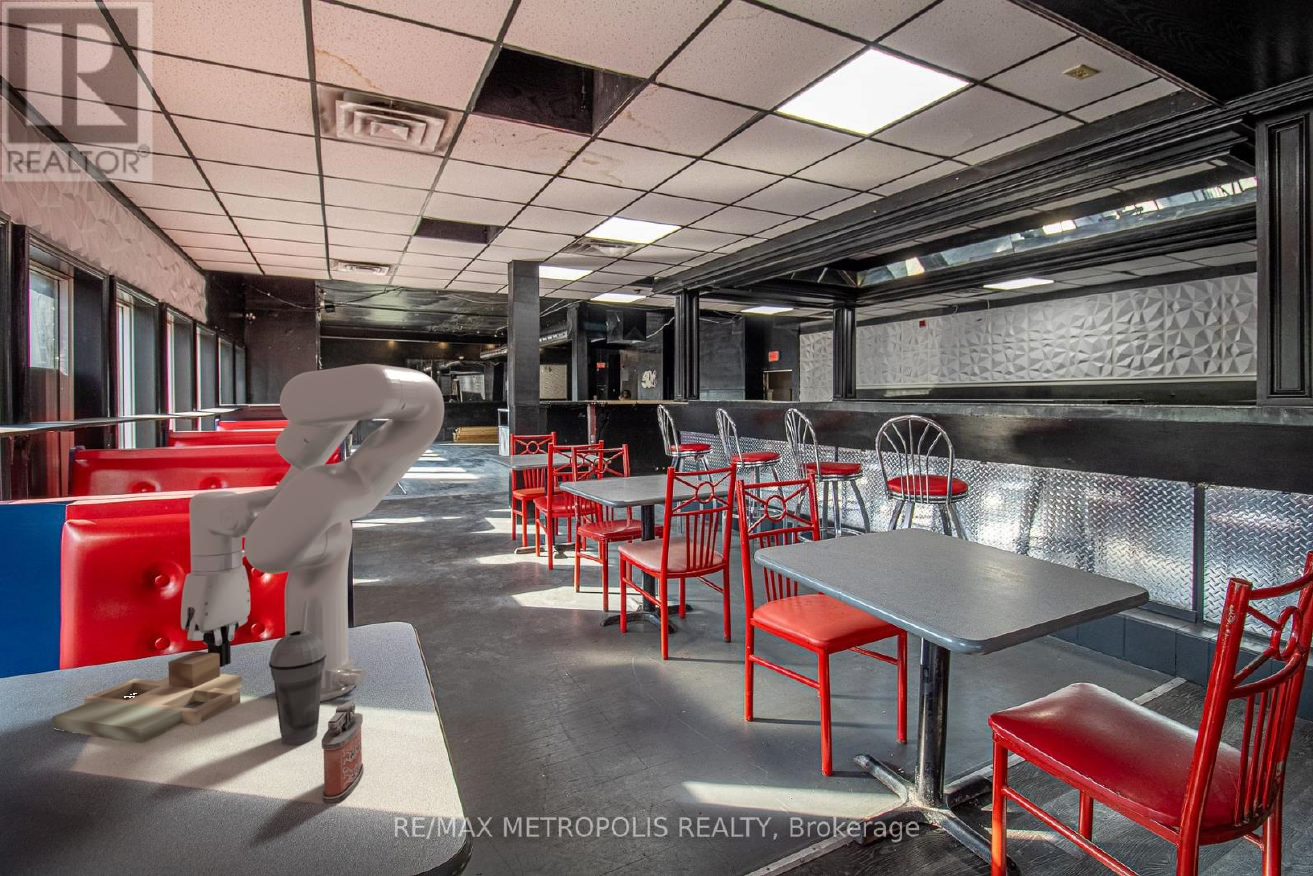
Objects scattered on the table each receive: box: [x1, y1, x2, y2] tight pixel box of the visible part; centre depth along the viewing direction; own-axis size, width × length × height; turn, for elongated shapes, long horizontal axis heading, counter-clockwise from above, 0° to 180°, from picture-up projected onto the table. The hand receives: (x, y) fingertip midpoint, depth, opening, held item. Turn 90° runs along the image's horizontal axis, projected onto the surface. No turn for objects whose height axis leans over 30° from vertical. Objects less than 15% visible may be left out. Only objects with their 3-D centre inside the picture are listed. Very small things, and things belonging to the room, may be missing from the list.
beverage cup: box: [268, 601, 326, 746], centre depth 93 cm, size 7×7×20 cm
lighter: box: [321, 700, 365, 806], centre depth 81 cm, size 8×3×10 cm, turn 5°
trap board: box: [52, 673, 243, 744], centre depth 103 cm, size 22×19×2 cm
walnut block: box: [168, 650, 221, 688], centre depth 109 cm, size 5×5×4 cm
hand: (219, 664), depth 114 cm, fingers closed
